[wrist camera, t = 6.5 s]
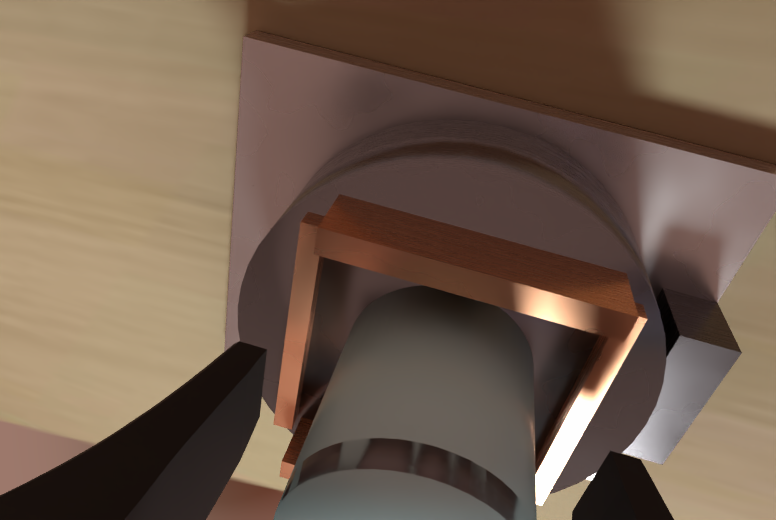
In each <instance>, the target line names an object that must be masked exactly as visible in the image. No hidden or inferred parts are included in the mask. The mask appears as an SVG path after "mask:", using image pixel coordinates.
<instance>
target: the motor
mask: <svg viewBox="0 0 776 520" xmlns="http://www.w3.org/2000/svg"><path fill="white" fill-rule="evenodd" d="M775 211H776V165H774V164H771V163H767V162H763V161H759V160H755V159H751V158H747V157H743V156H740V155H736V154H732V153H728V152H724V151H720V150H716V149H713V148H709V147H705V146H701V145H697V144H693V143H689V142H685V141H682V140H678V139H674V138H670V137H666V136H662V135H658V134H655V133H651V132H647V131H643V130H639V129H635V128H631V127H627V126H624V125H620V124H616V123H612V122H608V121H604V120H600V119H597V118H593V117H589V116H585V115H581V114H577V113H573V112H569V111H566V110H562V109H558V108H554V107H550V106H546V105H542V104H539V103H535V102H531V101H527V100H523V99H519V98H515V97H511V96H508V95H504V94H500V93H496V92H492V91H488V90H484V89H481V88H477V87H473V86H469V85H465V84H461V83H457V82H454V81H450V80H446V79H442V78H438V77H434V76H430V75H426V74H423V73H419V72H415V71H411V70H407V69H403V68H399V67H396V66H392V65H388V64H384V63H380V62H376V61H372V60H368V59H365V58H361V57H357V56H353V55H349V54H345V53H341V52H338V51H334V50H330V49H326V48H322V47H318V46H314V45H310V44H307V43H303V42H299V41H295V40H291V39H287V38H283V37H280V36H276V35H272V34H268V33H264V32H260V31H254V32H252V33H250V34H248V35H245V36H243V51H242V68H241V85H240V102H239V118H238V135H237V152H236V168H235V185H234V202H233V219H232V235H231V252H230V269H229V286H228V302H227V319H226V336H225V351H226V350H227V349H228V348H230V347H231V346H232V345H233V344H234V343H237V342H239V341H241V342H244V343H247V344H251V345H254V346H258V347H261V348H264V349H267V354H266V363H265V372H264V381H263V390H262V397H263V399H264V400H265V402H266V403H267V405H268V406H269V408H270V409H271V410H272V411H273V413H274V414H275V417H274V425H278V426H281V427H284V428H287V429H288V430H289V431H290V432H291V433H292V434H293V437H292V439H291V442H290V444H289V446H288V449H287V451H286V453H285V455H284V458H283V460H282V464H281V470H280V477H284V478H287V479H289V478H290V476H291V473H292V471H293V469H294V466H295V464H296V461H297V459H298V457H299V454H300V452H301V449H302V447H303V445H304V442H305V440H306V437H307V435H308V432H309V430H310V428H311V425H312V423H313V420H314V418H315V416H316V413H317V411H318V408H319V406H320V404H321V401H322V399H323V396H324V394H325V391H326V389H327V387H328V384H329V382H330V379H331V377H332V375H333V372H334V370H335V367H336V365H337V362H338V360H339V358H340V355H341V353H342V350H343V348H344V346H345V343H346V341H347V338H348V336H349V334H350V331H351V329H352V327H353V325H354V323H355V321H356V319H357V318H358V316H359V315H360V314H361V312H362V311H363V310H364V309H365V308H366V307H367V306H368V305H370V304H371V303H372V302H374V301H375V300H376V299H378V298H380V297H382V296H384V295H385V294H387V293H390V292H393V291H395V290H398V289H402V288H406V287H411V286H420V285H424V286H428V287H431V288H435V289H438V290H442V291H445V292H449V293H452V294H456V295H460V296H463V297H467V298H470V299H474V300H477V301H481V302H484V303H488V304H491V305H495V306H498V307H499V308H501V309H502V310H503V311H504V312H506V313H507V314H508V315H509V316H510V317H511V318H512V319H513V320H514V321H515V322H516V323H517V325H518V326H519V327H520V329H521V330H522V331H523V333H524V335H525V337H526V339H527V341H528V343H529V346H530V348H531V351H532V356H533V364H534V416H535V468H536V504H538V505H541V506H542V505H543V503H544V501H545V499H546V498H547V496H548V494H551V493H555V492H557V491H560V490H562V489H565V488H567V487H570V486H572V485H575V484H577V483H579V482H581V481H583V480H584V479H588V480H592V479H593V478H594V476H595V474H596V473H597V471H598V469H599V468H600V466H601V465H602V463H603V461H604V460H605V458H606V457H607V455H608V453H609V452H610V451H613V452H617V453H620V454H621V453H625V454H628V455H631V456H635V457H638V458H642V459H645V460H648V461H652V462H655V463H659V464H662V465H663V463H664V462H665V460H666V459H667V458H668V456H669V455H670V453H671V452H672V450H673V449H674V448H675V446H676V445H677V443H678V442H679V441H680V439H681V438H682V436H683V435H684V434H685V432H686V431H687V429H688V428H689V426H690V425H691V424H692V422H693V421H694V419H695V418H696V417H697V415H698V414H699V412H700V411H701V410H702V408H703V407H704V405H705V404H706V402H707V401H708V400H709V398H710V397H711V395H712V394H713V393H714V391H715V390H716V388H717V387H718V386H719V384H720V383H721V381H722V380H723V378H724V377H725V376H726V374H727V373H728V371H729V370H730V369H731V367H732V366H733V364H734V363H735V362H736V360H737V359H738V357H739V356H740V355H741V353H742V352H741V350H740V348H739V346H738V344H737V342H736V340H735V338H734V336H733V334H732V332H731V330H730V328H729V326H728V324H727V322H726V320H725V318H724V316H723V313H722V311H721V309H720V307H719V305H718V303H717V302H718V301H719V299H720V298H721V296H722V294H723V293H724V291H725V290H726V288H727V287H728V285H729V283H730V282H731V280H732V279H733V277H734V276H735V274H736V272H737V271H738V269H739V268H740V266H741V265H742V263H743V261H744V260H745V258H746V257H747V255H748V254H749V252H750V251H751V249H752V247H753V246H754V244H755V243H756V241H757V240H758V238H759V236H760V235H761V233H762V232H763V230H764V229H765V227H766V225H767V224H768V222H769V221H770V219H771V218H772V216H773V214H774V213H775Z"/></svg>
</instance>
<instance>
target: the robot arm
mask: <svg viewBox="0 0 776 520" xmlns="http://www.w3.org/2000/svg"><path fill="white" fill-rule="evenodd" d="M266 354H267V349H264V348H261V347H258V346H254V345H251V344H247V343H244V342H241V341H239V342H237V343H234V344H233V345H232V346H231V347H230V348H228V349H227V350H226V351H225V352H224V353H222V354H221V355H220V356H219V357H218V358H216V359H215V360H214V361H213V362H212V363H210V364H209V365H208V366H207V367H205V368H204V369H203V370H202V371H200V372H199V373H198V374H197V375H195V376H194V377H193V378H192V379H190V380H189V381H188V382H186V383H185V384H184V385H182V386H181V387H180V388H178V389H177V390H176V391H174V392H173V393H172V394H170V395H169V396H168V397H166V398H165V399H164V400H162V401H161V402H159V403H158V404H157V405H155V406H154V407H152V408H151V409H150V410H148V411H147V412H145V413H144V414H142V415H141V416H139V417H138V418H136V419H135V420H133V421H132V422H130V423H129V424H127V425H126V426H124V427H123V428H121V429H120V430H118V431H117V432H115V433H114V434H112V435H110V436H109V437H107V438H106V439H104V440H102V441H101V442H99V443H97V444H96V445H94V446H92V447H91V448H89V449H88V450H86V451H84V452H82V453H80V454H79V455H77V456H75V457H74V458H72V459H70V460H68V461H66V462H65V463H63V464H61V465H59V466H57V467H55V468H54V469H52V470H50V471H48V472H46V473H44V474H42V475H40V476H38V477H36V478H35V479H32V480H31V481H29V482H27V483H25V484H23V485H21V486H19V487H17V488H15V489H13V490H11V491H9V492H6V493H5V494H2V495H0V520H206V518H207V517H208V515H209V513H210V511H211V510H212V508H213V506H214V505H215V503H216V501H217V499H218V498H219V496H220V495H221V493H222V491H223V489H224V488H225V486H226V484H227V482H228V481H229V479H230V477H231V476H232V474H233V472H234V470H235V469H236V467H237V465H238V463H239V462H240V460H241V457H242V455H243V453H244V451H245V449H246V446H247V444H248V442H249V440H250V437H251V435H252V433H253V430H254V428H255V426H256V423H257V421H258V419H259V417H260V408H261V399H262V390H263V381H264V372H265V363H266ZM572 520H674V519H673V517H672V515H671V513H670V512H669V510H668V508H667V506H666V504H665V503H664V501H663V499H662V497H661V495H660V494H659V492H658V490H657V488H656V486H655V484H654V483H653V481H652V479H651V477H650V475H649V474H648V472H647V470H646V468H645V466H644V465H643V463H642V461H641V460H640V459H637V458H634V457H630V456H627V455H623V454H620V453H617V452H613V451H610V452H609V453H608V455H607V457H606V458H605V460H604V461H603V463H602V465H601V466H600V468H599V469H598V471H597V473H596V474H595V476H594V478H593V479H592V481H591V482H590V484H589V486H588V487H587V489H586V490H585V492H584V494H583V495H582V497H581V499H580V500H579V502H578V503H577V505H576V507H575V508H574V510H573V511H572Z"/></svg>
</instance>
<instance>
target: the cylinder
mask: <svg viewBox="0 0 776 520" xmlns="http://www.w3.org/2000/svg"><path fill="white" fill-rule="evenodd" d="M274 520H536V468H535V416H534V364H533V356H532V351H531V348H530V346H529V343H528V341H527V339H526V337H525V335H524V333H523V331H522V330H521V329H520V327H519V326H518V325H517V323H516V322H515V321H514V320H513V319H512V318H511V317H510V316H509V315H508V314H507V313H506V312H504V311H503V310H502V309H501V308H499V307H498V306H495V305H491V304H488V303H484V302H481V301H477V300H474V299H470V298H467V297H463V296H460V295H456V294H452V293H449V292H445V291H442V290H438V289H435V288H431V287H428V286H424V285H420V286H411V287H406V288H402V289H398V290H395V291H393V292H390V293H387V294H385V295H384V296H382V297H380V298H378V299H376V300H375V301H374V302H372V303H371V304H370V305H368V306H367V307H366V308H365V309H364V310H363V311H362V312H361V314H360V315H359V316H358V318H357V319H356V321H355V323H354V325H353V327H352V329H351V331H350V334H349V336H348V338H347V341H346V343H345V346H344V348H343V350H342V353H341V355H340V358H339V360H338V362H337V365H336V367H335V370H334V372H333V375H332V377H331V379H330V382H329V384H328V387H327V389H326V391H325V394H324V396H323V399H322V401H321V404H320V406H319V408H318V411H317V413H316V416H315V418H314V420H313V423H312V425H311V428H310V430H309V432H308V435H307V437H306V440H305V442H304V445H303V447H302V449H301V452H300V454H299V457H298V459H297V461H296V464H295V466H294V469H293V471H292V473H291V476H290V478H289V481H288V483H287V486H286V488H285V490H284V493H283V495H282V498H281V500H280V502H279V505H278V507H277V510H276V513H275V516H274Z"/></svg>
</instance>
